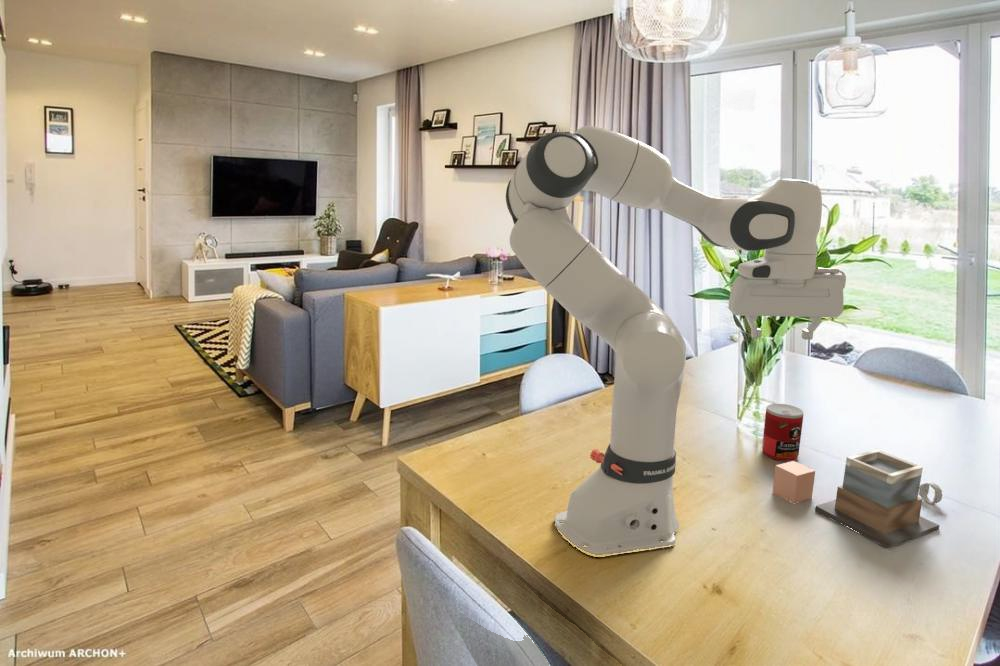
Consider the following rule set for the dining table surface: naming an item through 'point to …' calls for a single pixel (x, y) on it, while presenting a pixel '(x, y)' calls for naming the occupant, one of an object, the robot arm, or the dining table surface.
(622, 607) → the dining table surface
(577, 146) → the robot arm
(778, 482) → the light orange block
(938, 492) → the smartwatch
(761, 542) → the dining table surface
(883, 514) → the stacked open-top box
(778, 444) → the canned food
